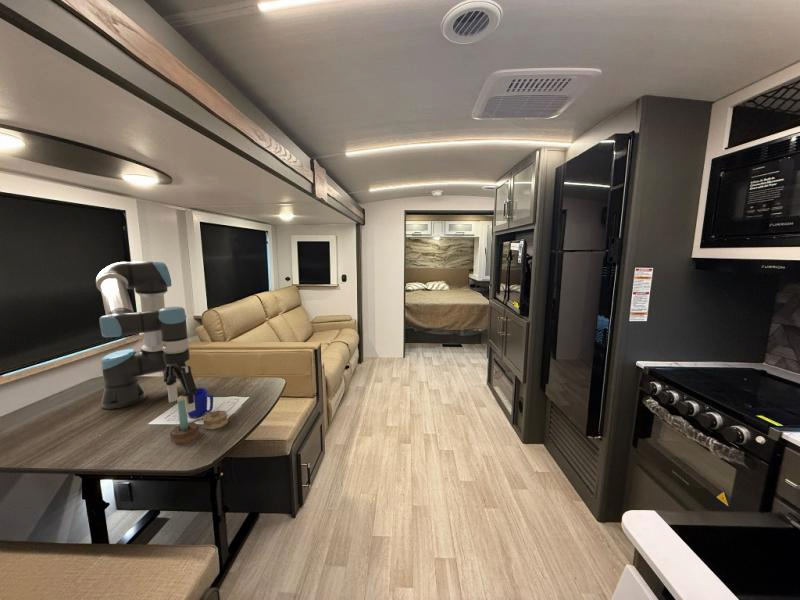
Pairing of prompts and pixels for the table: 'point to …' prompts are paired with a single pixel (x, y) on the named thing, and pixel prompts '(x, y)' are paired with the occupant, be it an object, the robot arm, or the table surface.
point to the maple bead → (215, 419)
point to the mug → (201, 403)
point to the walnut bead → (184, 433)
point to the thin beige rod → (196, 419)
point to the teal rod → (182, 413)
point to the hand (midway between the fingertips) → (181, 406)
